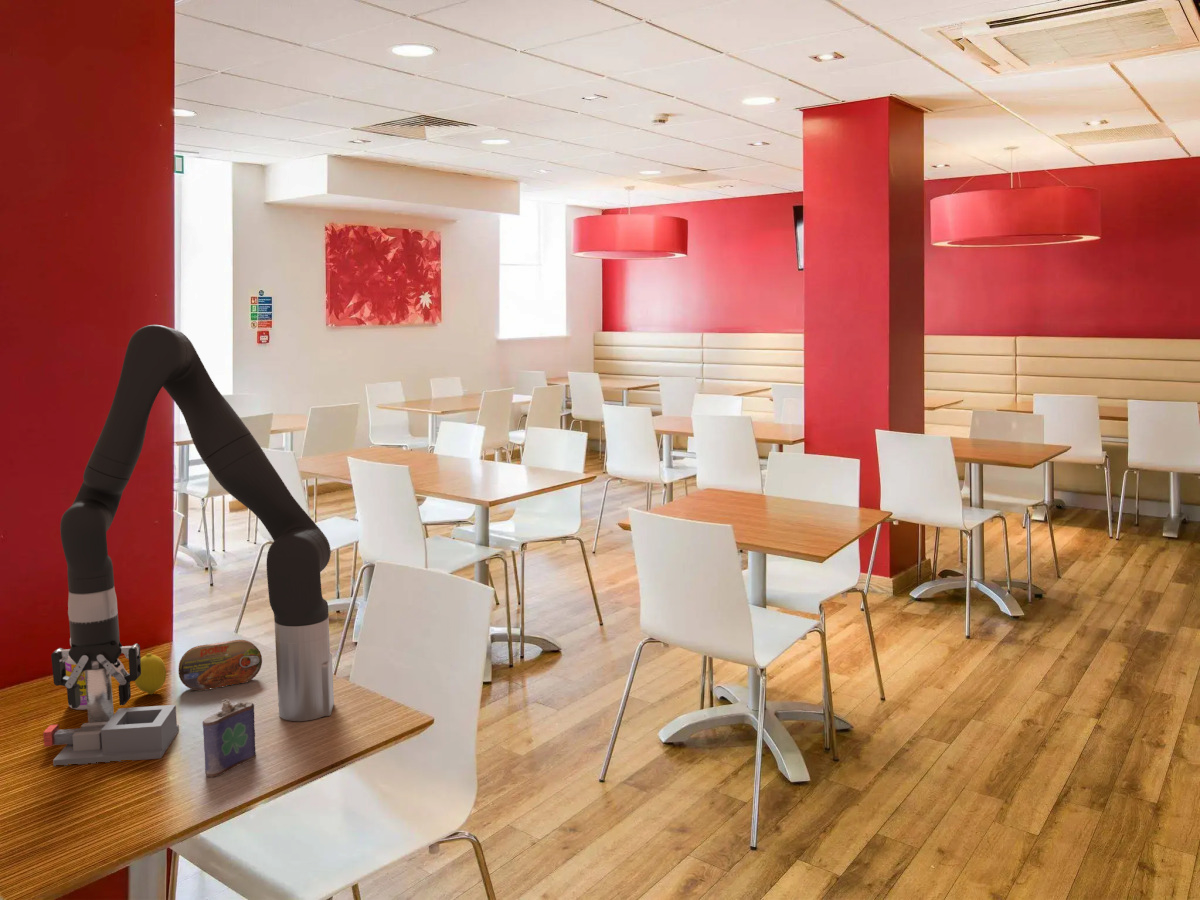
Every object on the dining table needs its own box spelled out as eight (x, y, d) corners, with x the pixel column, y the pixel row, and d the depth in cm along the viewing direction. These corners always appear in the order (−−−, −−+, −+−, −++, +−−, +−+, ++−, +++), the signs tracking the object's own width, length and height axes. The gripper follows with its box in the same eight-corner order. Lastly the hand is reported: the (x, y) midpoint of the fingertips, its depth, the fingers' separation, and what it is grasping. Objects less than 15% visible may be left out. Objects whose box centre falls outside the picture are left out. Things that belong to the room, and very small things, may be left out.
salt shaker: (117, 716, 172) (112, 653, 170) (109, 725, 168) (105, 661, 166) (93, 717, 171) (88, 655, 170) (85, 726, 167) (80, 663, 166)
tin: (180, 694, 182) (177, 651, 181) (178, 688, 185) (176, 646, 184) (263, 680, 189) (261, 639, 188) (261, 675, 192) (259, 634, 191)
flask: (212, 779, 147) (208, 712, 146) (199, 775, 149) (195, 708, 148) (260, 756, 155) (257, 692, 154) (247, 752, 157) (244, 689, 156)
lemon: (154, 700, 179) (152, 659, 178) (128, 698, 180) (125, 657, 179) (173, 689, 184) (171, 649, 183) (148, 687, 185) (145, 647, 184)
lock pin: (111, 735, 160) (110, 720, 160) (105, 742, 157) (104, 728, 157) (51, 739, 158) (50, 724, 158) (44, 747, 155) (43, 732, 155)
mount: (178, 730, 166) (177, 702, 165) (160, 758, 155) (159, 728, 154) (78, 737, 163) (76, 709, 162) (53, 766, 152) (51, 736, 152)
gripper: (143, 606, 172) (149, 694, 174) (57, 610, 170) (64, 699, 172) (130, 618, 165) (136, 710, 167) (40, 622, 162) (47, 716, 164)
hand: (99, 705), depth 169 cm, fingers open, 7 cm apart
